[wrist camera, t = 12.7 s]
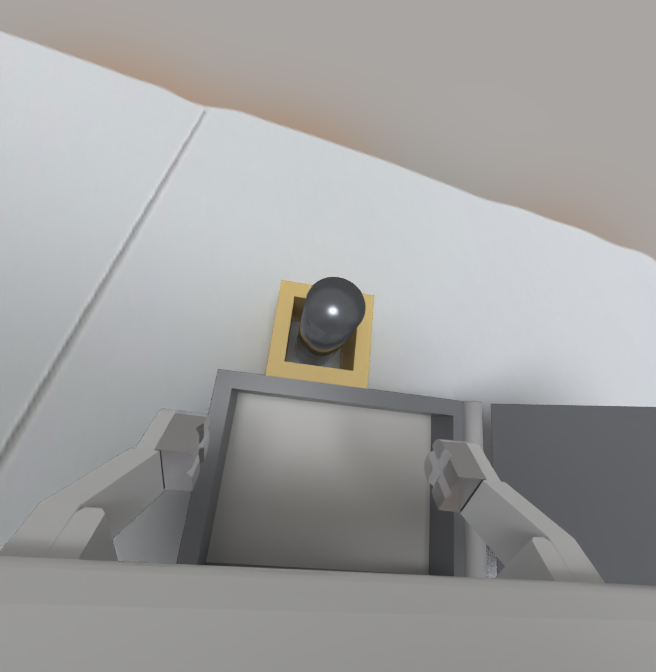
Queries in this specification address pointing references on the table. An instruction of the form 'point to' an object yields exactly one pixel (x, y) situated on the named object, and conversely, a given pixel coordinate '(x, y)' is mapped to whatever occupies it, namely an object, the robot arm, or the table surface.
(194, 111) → the table surface
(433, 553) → the case
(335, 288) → the rod
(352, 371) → the frame
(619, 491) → the case lid
